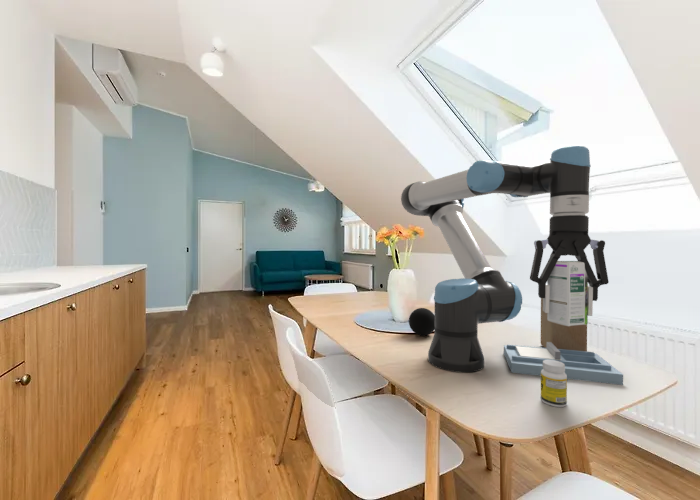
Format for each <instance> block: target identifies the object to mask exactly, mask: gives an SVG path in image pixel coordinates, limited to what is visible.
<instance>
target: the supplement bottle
mask: <svg viewBox="0 0 700 500" xmlns="http://www.w3.org/2000/svg"><path fill="white" fill-rule="evenodd" d="M564 372H565V364H564V363H562V362H559V361H555V360H544V361H543V369H542V370H541V376H540V399H541V401H542V403H544V404H546V405H548V406H551V407H555V408H563V407H566V406H567V405H568V393H567V392H568V379H567V375H566V374H565V373H564Z"/></svg>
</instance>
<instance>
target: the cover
mask: <svg viewBox="0 0 700 500" xmlns="http://www.w3.org/2000/svg"><path fill="white" fill-rule="evenodd" d="M521 346H522V345H519V346H515V350H516V352H517V353H518V355H519V356H523V357H533V358H543V359H554V360H561V359H560V353H561V352H560V351H559V350H558V349H557V348H556V347H555V346H554V345H553V344H552V342H547V344H546V349H543V348H544V347H542V348H532V347H533V346H531V347H521Z"/></svg>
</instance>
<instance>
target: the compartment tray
mask: <svg viewBox="0 0 700 500" xmlns="http://www.w3.org/2000/svg"><path fill="white" fill-rule="evenodd" d="M515 346H521V347H532V348H543V349H546V348H545V347H543V346H542V347H539V346H529V345H518V344H509V343H508V344H506V345H503V355H504V357H505V360H506V362H507V365H508V367H509V369H510V373H514V374H521V375H532V376H538V377H539V376H540V377H541V370H542V369H543V361H544V360H554V359H543V358H533V357H523V356H519V355H518V353H517V352H516V350H515ZM558 350H559V351H560V352H561V353H560V359H561V360H555V361H559V362H562V363H564V364H565V372H564V373H565V374H566V375H567V380H575V381H576V380H577V381H585V382H595V383H600V384H601V383H603V384H610V385H611V384H612V385H621V386H623V385H624V373H622V372H621V371H620V370H618V369H616V367H614V366H613V365H612V364H611V363H610V362H608V361H607V360H605V358H603V357H601V356H600V355H599V354H598V353H596V352H594V351H588V350H587V351H576V350H565V349H558Z"/></svg>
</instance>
